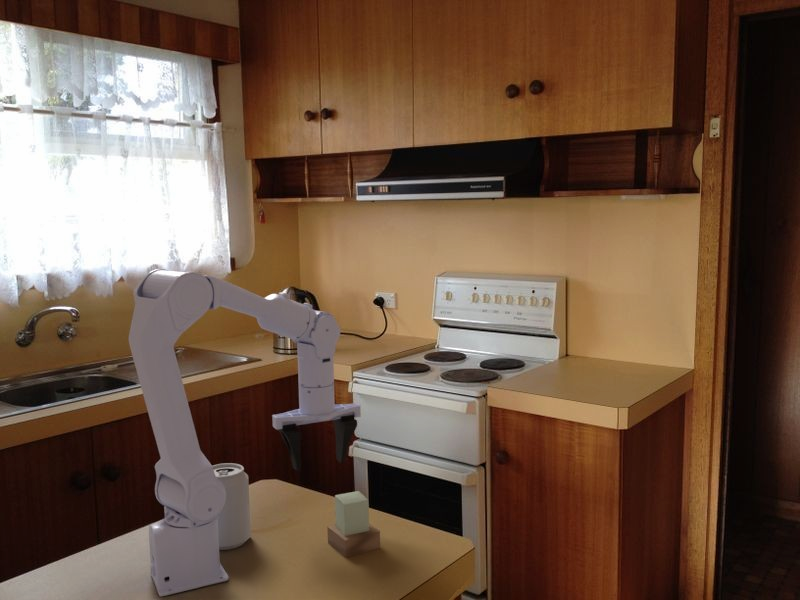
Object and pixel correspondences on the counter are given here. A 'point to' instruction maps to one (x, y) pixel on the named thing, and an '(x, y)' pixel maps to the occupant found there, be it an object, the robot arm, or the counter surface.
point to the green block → (351, 513)
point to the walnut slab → (353, 541)
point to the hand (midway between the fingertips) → (318, 464)
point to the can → (233, 506)
